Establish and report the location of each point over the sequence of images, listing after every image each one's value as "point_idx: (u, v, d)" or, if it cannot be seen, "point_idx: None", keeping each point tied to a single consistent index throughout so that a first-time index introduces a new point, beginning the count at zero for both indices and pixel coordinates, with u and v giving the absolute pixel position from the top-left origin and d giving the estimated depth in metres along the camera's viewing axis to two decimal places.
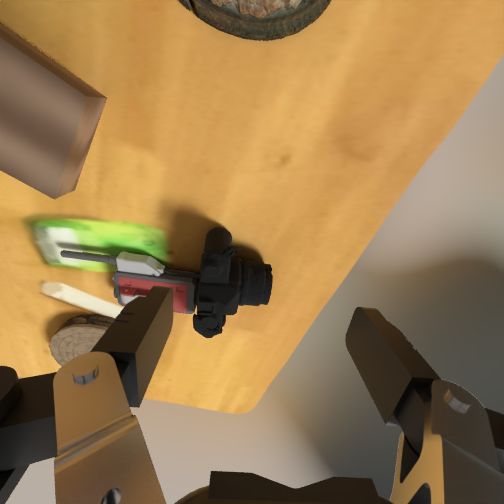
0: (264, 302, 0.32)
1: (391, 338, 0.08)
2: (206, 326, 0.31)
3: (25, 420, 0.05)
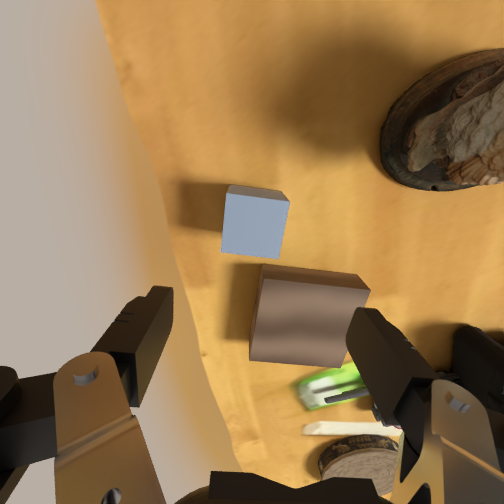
0: None
1: (391, 338, 0.08)
2: None
3: (25, 420, 0.05)
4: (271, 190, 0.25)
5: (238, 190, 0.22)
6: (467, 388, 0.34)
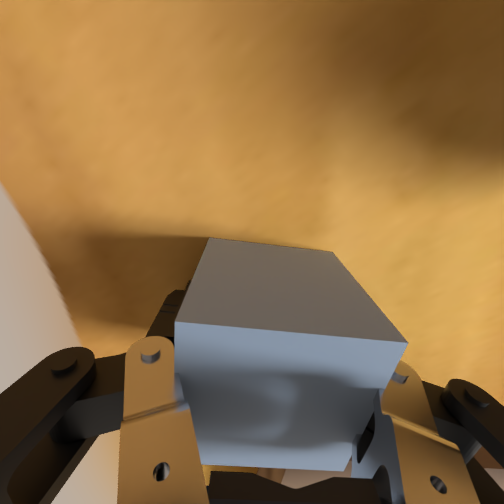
0: None
1: None
2: None
3: (96, 402, 0.06)
4: (310, 253, 0.10)
5: (225, 277, 0.07)
6: None
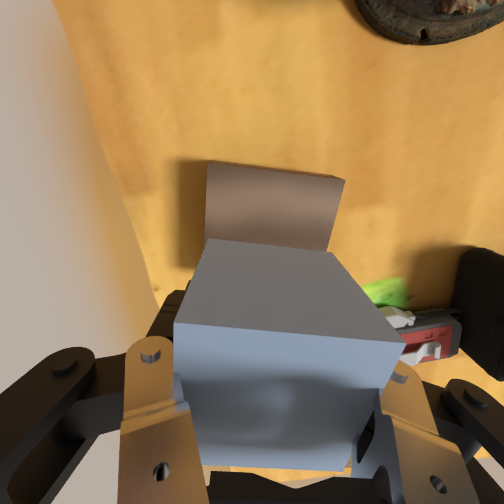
0: None
1: None
2: None
3: (96, 402, 0.06)
4: (309, 253, 0.10)
5: (225, 278, 0.07)
6: (469, 324, 0.28)
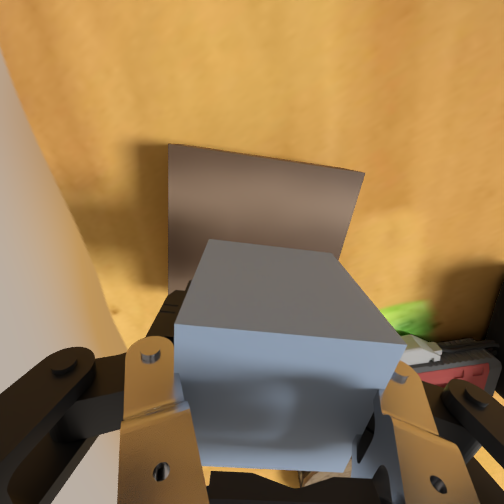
0: None
1: None
2: None
3: (96, 402, 0.06)
4: (310, 254, 0.10)
5: (225, 279, 0.07)
6: None
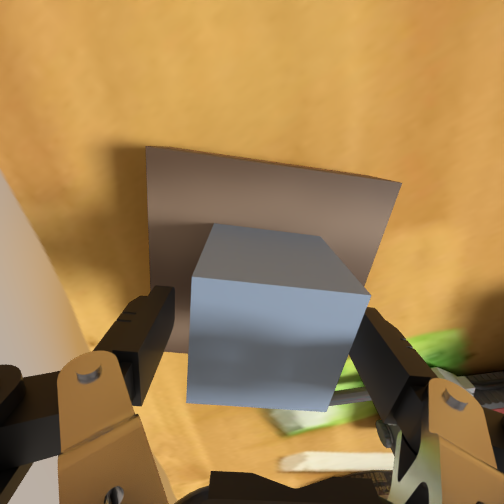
0: None
1: (389, 337, 0.09)
2: None
3: (29, 419, 0.05)
4: (301, 236, 0.12)
5: (229, 251, 0.09)
6: None
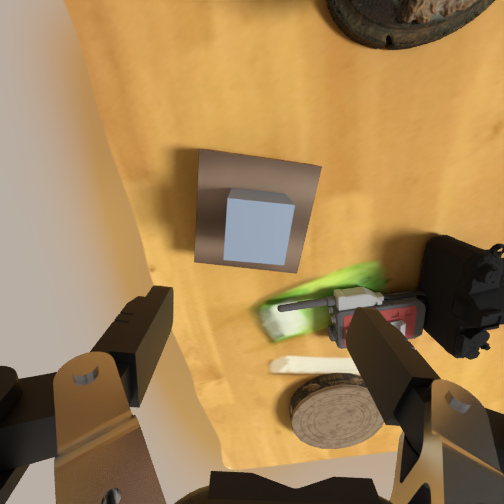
0: None
1: (391, 338, 0.08)
2: (476, 344, 0.27)
3: (25, 420, 0.05)
4: (274, 193, 0.24)
5: (240, 194, 0.21)
6: (432, 305, 0.31)
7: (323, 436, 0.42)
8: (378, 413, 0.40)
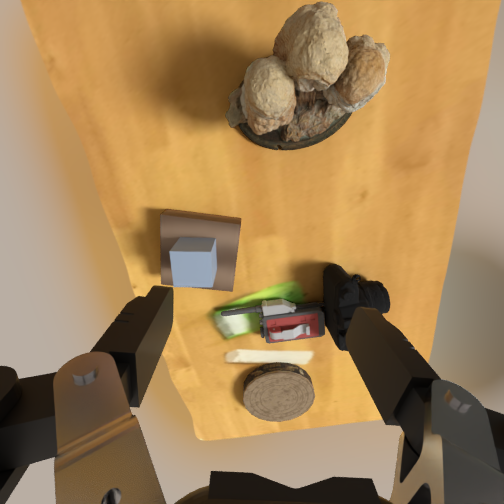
0: (386, 310, 0.40)
1: (391, 338, 0.08)
2: None
3: (25, 420, 0.05)
4: (208, 238, 0.37)
5: (180, 245, 0.34)
6: (328, 313, 0.44)
7: (268, 411, 0.55)
8: (308, 393, 0.53)
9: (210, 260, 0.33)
